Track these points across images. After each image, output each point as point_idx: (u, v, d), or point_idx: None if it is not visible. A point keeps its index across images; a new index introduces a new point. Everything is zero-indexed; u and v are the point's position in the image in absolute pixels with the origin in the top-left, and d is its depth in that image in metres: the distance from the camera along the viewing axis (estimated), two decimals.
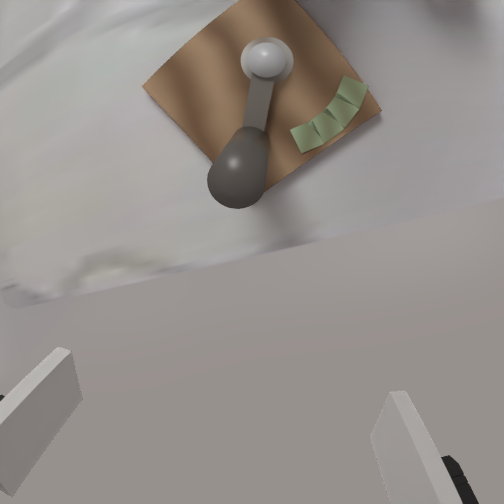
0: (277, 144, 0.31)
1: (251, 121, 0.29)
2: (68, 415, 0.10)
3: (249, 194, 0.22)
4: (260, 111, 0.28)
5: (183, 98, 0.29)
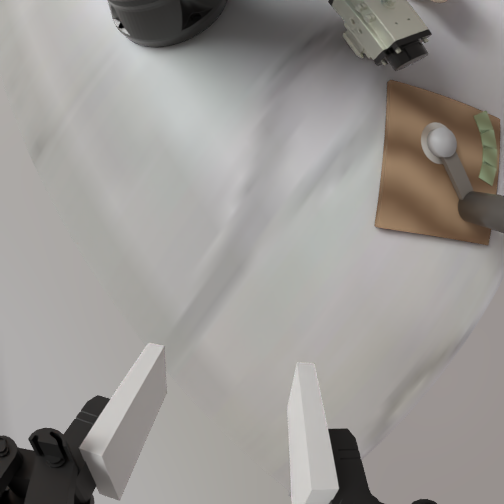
0: None
1: (464, 190, 0.31)
2: (157, 409, 0.12)
3: None
4: (464, 179, 0.31)
5: (413, 212, 0.34)
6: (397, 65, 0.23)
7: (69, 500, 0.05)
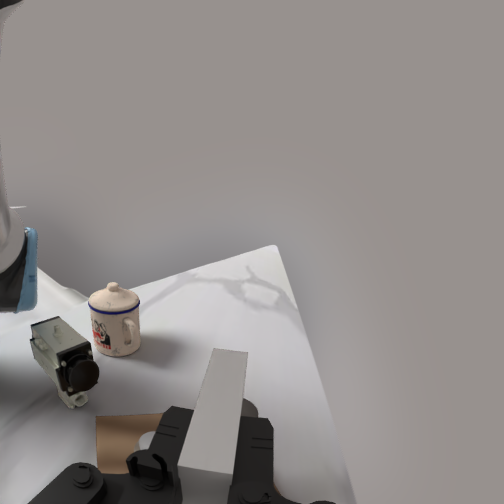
0: None
1: None
2: None
3: (246, 408, 0.22)
4: None
5: None
6: (69, 378, 0.28)
7: None
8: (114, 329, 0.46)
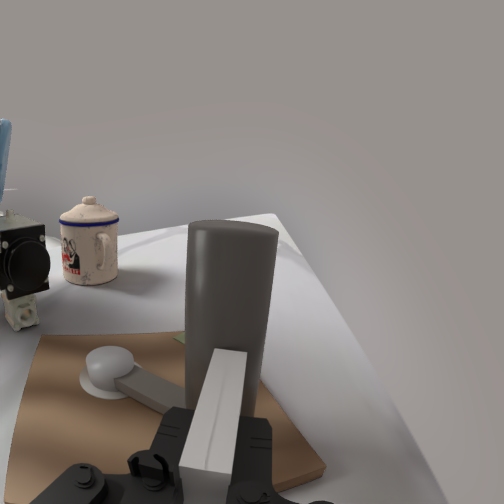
0: None
1: (181, 403, 0.17)
2: None
3: (256, 227, 0.15)
4: (171, 390, 0.18)
5: None
6: (7, 265, 0.20)
7: None
8: (85, 247, 0.37)
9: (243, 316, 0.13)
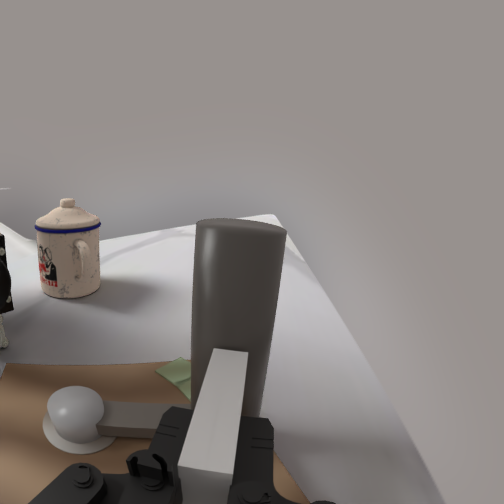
0: None
1: None
2: None
3: (251, 223, 0.15)
4: (162, 411, 0.16)
5: None
6: None
7: None
8: (62, 257, 0.32)
9: (272, 308, 0.14)
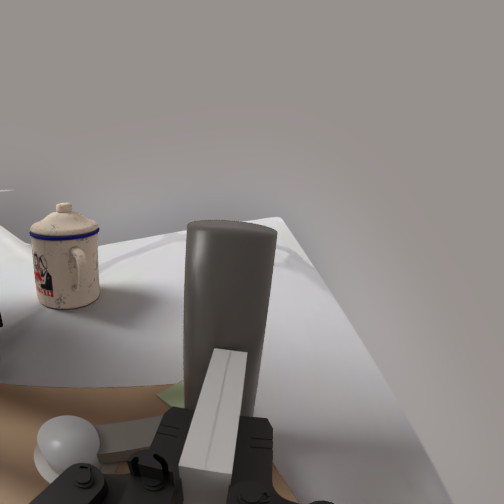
0: None
1: None
2: None
3: (234, 223, 0.15)
4: (157, 425, 0.15)
5: None
6: None
7: None
8: (58, 265, 0.29)
9: (267, 305, 0.14)
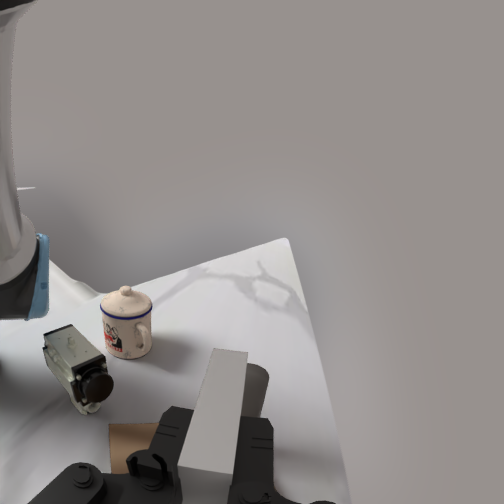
0: None
1: None
2: None
3: (250, 367, 0.32)
4: None
5: None
6: (84, 392, 0.29)
7: None
8: (126, 334, 0.47)
9: (263, 402, 0.31)
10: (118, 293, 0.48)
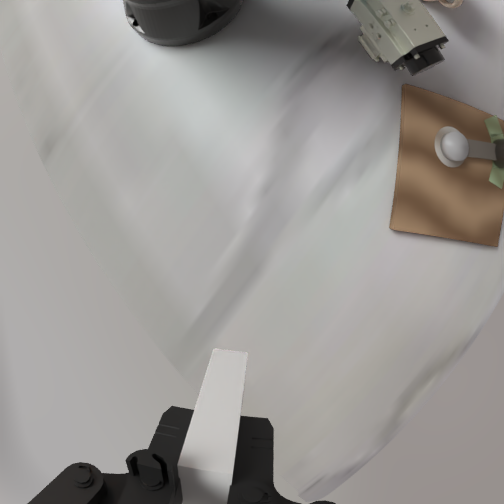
0: (489, 196, 0.32)
1: (492, 153, 0.30)
2: None
3: None
4: (486, 147, 0.30)
5: (426, 215, 0.34)
6: (415, 70, 0.23)
7: None
8: None
9: None
10: None
